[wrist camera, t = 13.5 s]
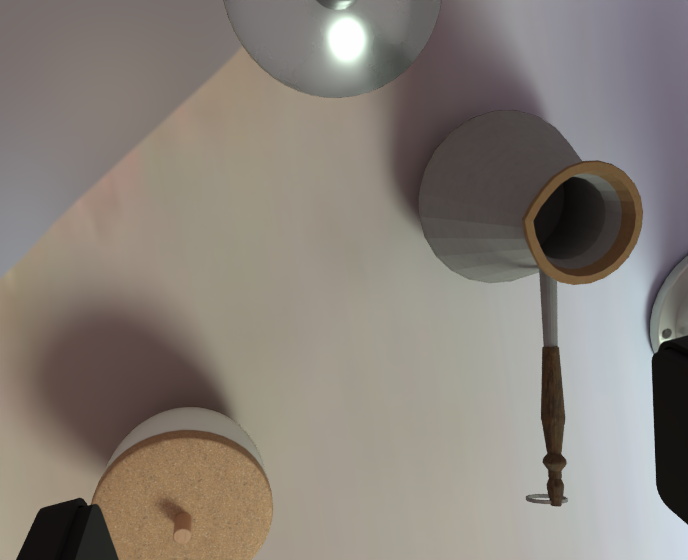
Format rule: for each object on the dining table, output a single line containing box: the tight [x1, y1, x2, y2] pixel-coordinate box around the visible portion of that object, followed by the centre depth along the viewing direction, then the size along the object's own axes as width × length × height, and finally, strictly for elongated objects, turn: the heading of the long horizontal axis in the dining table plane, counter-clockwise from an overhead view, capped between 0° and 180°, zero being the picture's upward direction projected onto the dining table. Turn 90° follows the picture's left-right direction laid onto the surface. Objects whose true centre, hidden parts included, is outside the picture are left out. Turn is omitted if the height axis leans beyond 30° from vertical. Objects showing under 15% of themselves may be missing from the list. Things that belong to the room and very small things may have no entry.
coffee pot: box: [419, 110, 643, 506], centre depth 37 cm, size 21×12×15 cm, turn 174°
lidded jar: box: [91, 407, 273, 560], centre depth 39 cm, size 11×11×9 cm
